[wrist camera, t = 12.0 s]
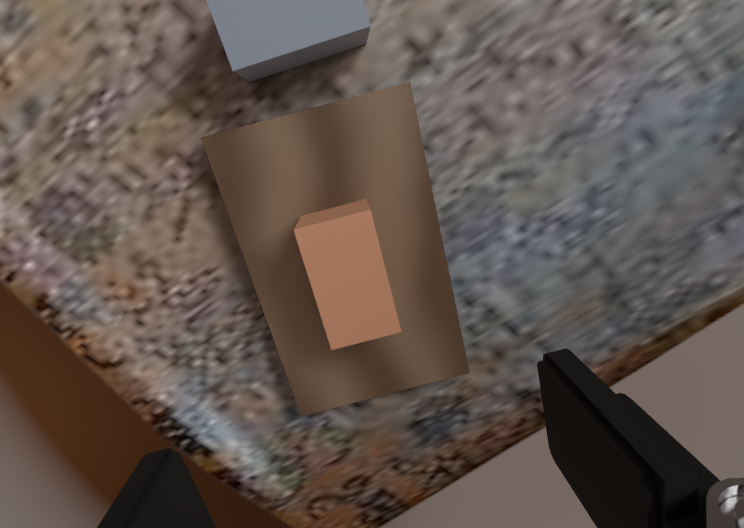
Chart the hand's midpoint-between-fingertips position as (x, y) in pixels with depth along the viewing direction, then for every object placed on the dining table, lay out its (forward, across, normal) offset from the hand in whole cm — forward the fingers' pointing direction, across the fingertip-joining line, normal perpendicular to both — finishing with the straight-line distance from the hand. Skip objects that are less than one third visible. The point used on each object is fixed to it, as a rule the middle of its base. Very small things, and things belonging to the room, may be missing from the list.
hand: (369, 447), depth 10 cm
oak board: (+17, 0, 0) cm, 17 cm away
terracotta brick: (+16, 0, 0) cm, 16 cm away
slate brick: (+18, 0, -14) cm, 22 cm away
